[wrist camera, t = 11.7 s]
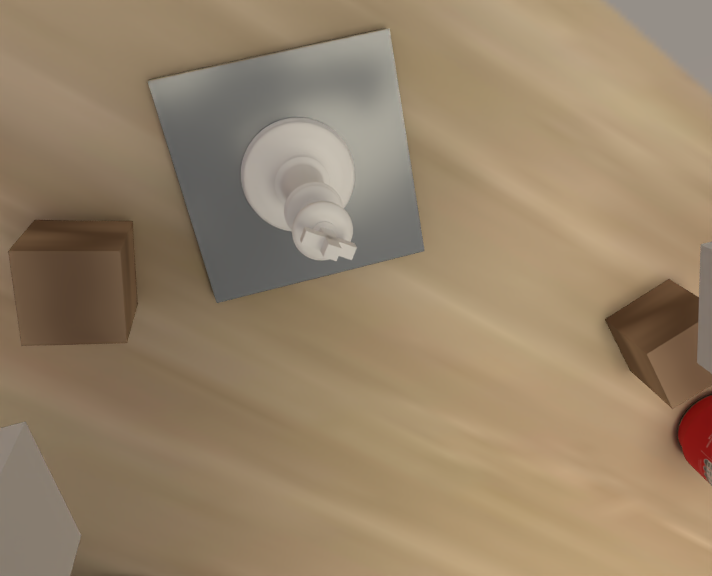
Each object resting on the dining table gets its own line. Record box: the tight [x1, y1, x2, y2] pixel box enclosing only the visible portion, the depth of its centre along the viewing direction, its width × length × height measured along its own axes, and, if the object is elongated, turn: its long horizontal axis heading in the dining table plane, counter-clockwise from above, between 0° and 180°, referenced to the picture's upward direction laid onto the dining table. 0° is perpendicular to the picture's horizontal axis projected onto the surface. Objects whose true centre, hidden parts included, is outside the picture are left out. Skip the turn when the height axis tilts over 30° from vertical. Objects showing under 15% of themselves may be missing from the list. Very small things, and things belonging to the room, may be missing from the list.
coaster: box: [148, 28, 424, 303], centre depth 29 cm, size 10×10×1 cm
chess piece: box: [241, 117, 357, 261], centre depth 24 cm, size 5×5×10 cm
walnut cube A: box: [605, 279, 712, 409], centre depth 35 cm, size 4×4×4 cm
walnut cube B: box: [8, 220, 138, 346], centre depth 28 cm, size 4×4×4 cm
